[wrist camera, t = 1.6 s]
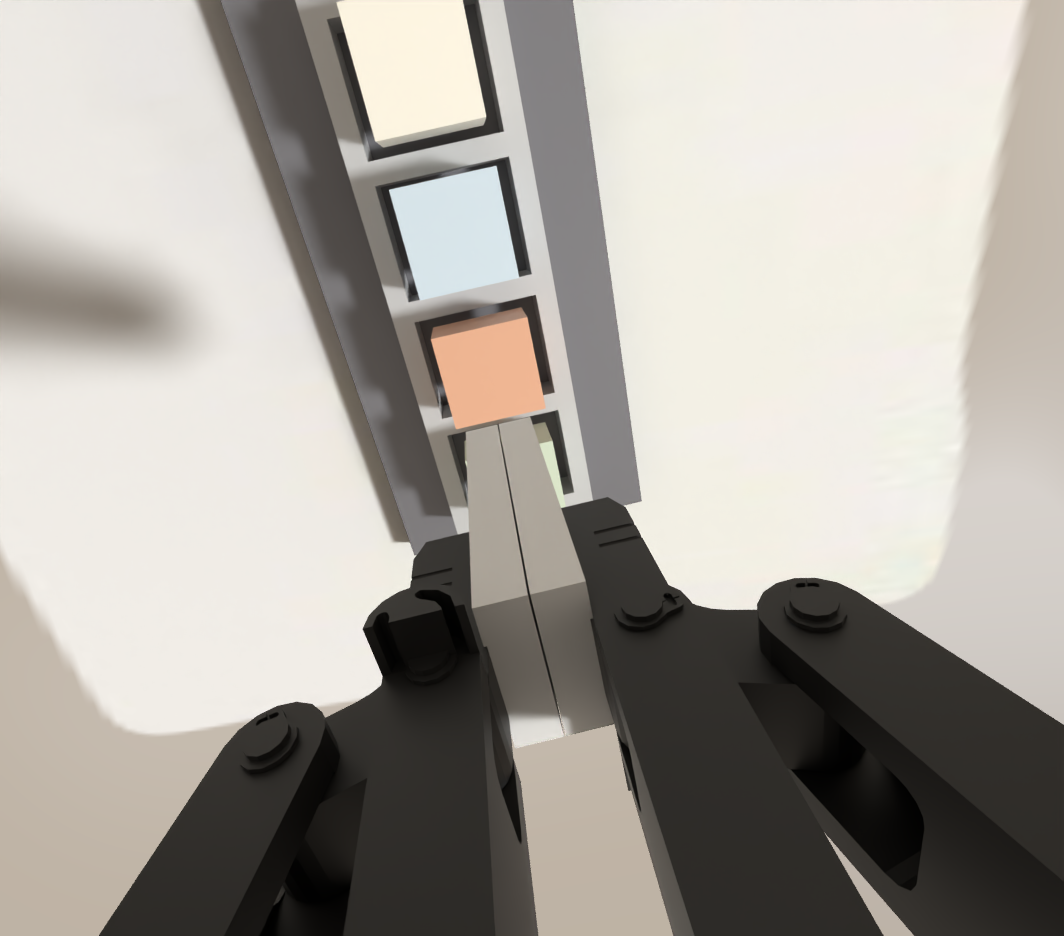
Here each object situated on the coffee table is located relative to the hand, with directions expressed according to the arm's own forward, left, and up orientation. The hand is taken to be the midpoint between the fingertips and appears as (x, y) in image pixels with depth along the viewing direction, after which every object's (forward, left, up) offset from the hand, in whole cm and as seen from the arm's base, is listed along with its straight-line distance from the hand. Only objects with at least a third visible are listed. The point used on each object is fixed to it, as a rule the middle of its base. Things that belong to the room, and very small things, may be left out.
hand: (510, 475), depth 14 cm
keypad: (-3, 0, -14) cm, 15 cm away
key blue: (-5, 0, -11) cm, 12 cm away
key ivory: (-10, 0, -11) cm, 15 cm away
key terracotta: (0, 0, -11) cm, 11 cm away
